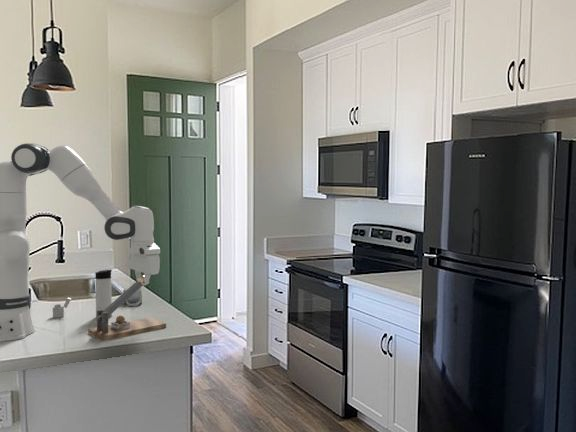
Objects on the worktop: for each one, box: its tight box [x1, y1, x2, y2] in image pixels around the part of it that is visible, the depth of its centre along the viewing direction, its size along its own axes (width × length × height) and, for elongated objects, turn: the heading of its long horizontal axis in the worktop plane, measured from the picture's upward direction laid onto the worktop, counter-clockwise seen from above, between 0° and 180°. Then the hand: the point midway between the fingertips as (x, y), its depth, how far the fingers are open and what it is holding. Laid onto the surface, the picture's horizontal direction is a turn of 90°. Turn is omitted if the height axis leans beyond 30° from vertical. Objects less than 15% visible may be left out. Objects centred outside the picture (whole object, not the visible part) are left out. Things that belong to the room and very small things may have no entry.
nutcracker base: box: [87, 310, 167, 341], centre depth 201 cm, size 26×12×9 cm, turn 133°
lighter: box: [52, 297, 72, 319], centre depth 219 cm, size 7×2×8 cm, turn 110°
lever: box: [96, 274, 147, 322], centre depth 199 cm, size 24×4×4 cm
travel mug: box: [94, 269, 113, 319], centre depth 219 cm, size 6×7×20 cm
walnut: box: [115, 315, 126, 324], centre depth 199 cm, size 3×3×3 cm
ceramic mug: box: [122, 287, 143, 308], centre depth 242 cm, size 11×8×8 cm
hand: (142, 282), depth 204 cm, fingers closed on lever, 4 cm apart
